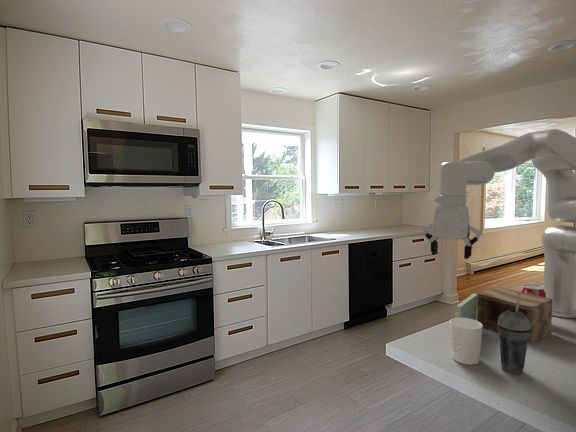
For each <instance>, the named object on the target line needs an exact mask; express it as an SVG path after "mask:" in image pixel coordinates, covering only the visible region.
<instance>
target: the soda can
mask: <svg viewBox="0 0 576 432" xmlns="http://www.w3.org/2000/svg"><path fill="white" fill-rule="evenodd" d="M520 292H524V293H528V294H532V295H537V296H541V297H545V298H546V293H545V291H544V288H543V286H541V285H538V284H523V287H522V288H521V291H520Z"/></svg>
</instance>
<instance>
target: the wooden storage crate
mask: <svg viewBox="0 0 576 432" xmlns="http://www.w3.org/2000/svg"><path fill="white" fill-rule="evenodd" d="M518 293H521V295H520V302H519V308H518V311H520V312H522V313H523V314H524V315H525V316H526V317H527V318H528V320H529V322H530V325H531V331H530V336H529V338H528V344H530V345H531V344H532V343H535V342H537V341H538V340H541V339H543V338H545V337H546V336H549V335H551V334H552V318H553V316H552V300H553V299H550V298H545V297H541V296H537V295H532V294H528V293H524V292H521V291H518V290H514V289H509V288H505V287H501V286H498V287H494V288H490V289H488V290H484V291H480V292H478V293H477V321H478V322H480V323H481V324H482V325H483V329H486V330H488V331H491V332H494V333H498V334H499V332H498V326H497V322H498V318H499V316H500V315H501V314H502V313H503V312H504V311H507V310H516V305H517V298H518Z"/></svg>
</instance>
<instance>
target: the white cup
mask: <svg viewBox="0 0 576 432" xmlns="http://www.w3.org/2000/svg"><path fill="white" fill-rule="evenodd" d="M483 329H484V328H483V325H482V324H481V323H480V322H478V321H476V320H473V319H469V318H455V317H453V318H451V319H449V332H450V333H449V335H450V336H449V337H450V338H449V339H450V356H451V359H453V361H455V362H456V363H460V364H463V365H470V366H471V365H477V364H479V362H480V354H481V348H482V342H483V341H482V339H483Z"/></svg>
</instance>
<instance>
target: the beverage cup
mask: <svg viewBox="0 0 576 432" xmlns="http://www.w3.org/2000/svg"><path fill="white" fill-rule="evenodd" d="M520 295H521V293H518V298H517V305H516V310H507V311H504V312H503V313H502V314H501V315H500V316H499V318H498V322H497V326H498V332H499V333H498V338H499V339H498V340H499V353H500V363H501V370H502V372H504V373H506V374H508V375H512V376H517V377H518V376H522V375H523V373H524V369H525V363H526V357H527V356H526V355H527V350H528V344H529V343H528V338H529V336H530V331H531V325H530V322H529V320H528V318H527V317H526V316H525V315H524V314H523V313H522V312H520V311H518V308H519V302H520Z"/></svg>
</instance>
